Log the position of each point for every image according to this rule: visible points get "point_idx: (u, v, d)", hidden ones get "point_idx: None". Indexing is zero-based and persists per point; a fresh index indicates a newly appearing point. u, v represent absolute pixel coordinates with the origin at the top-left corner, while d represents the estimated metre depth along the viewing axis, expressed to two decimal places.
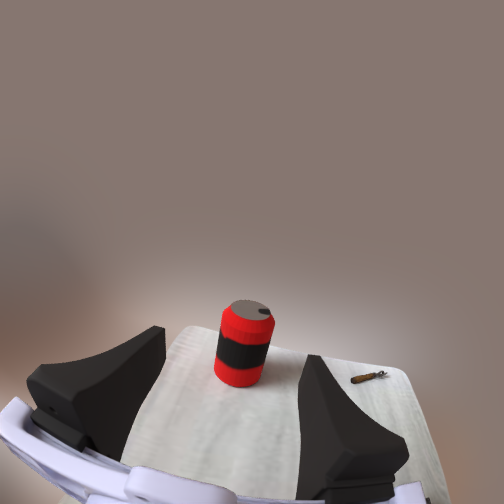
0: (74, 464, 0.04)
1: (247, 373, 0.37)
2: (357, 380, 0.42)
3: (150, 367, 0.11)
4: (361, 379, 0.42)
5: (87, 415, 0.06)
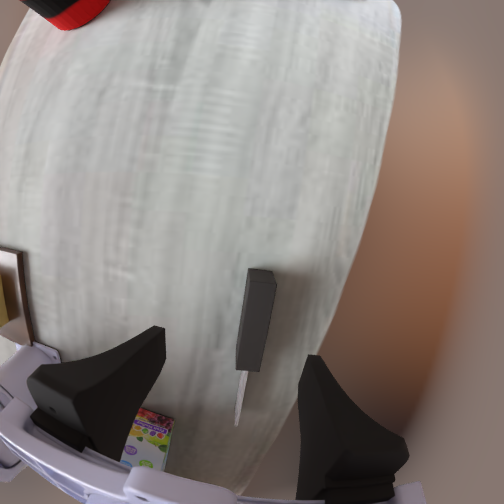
0: (74, 464, 0.04)
1: (69, 13, 0.13)
2: None
3: (150, 367, 0.11)
4: None
5: (87, 415, 0.06)
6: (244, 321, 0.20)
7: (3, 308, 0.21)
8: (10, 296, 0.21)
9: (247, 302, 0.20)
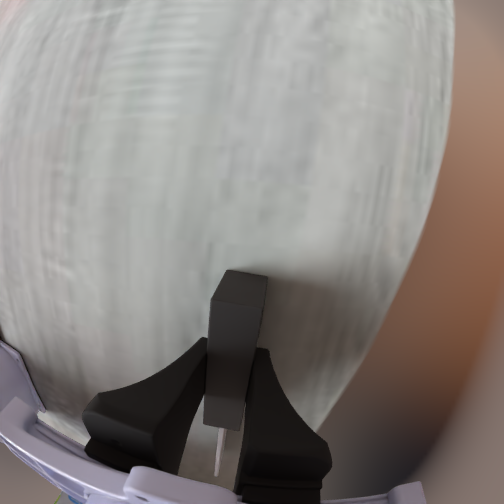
0: (74, 464, 0.04)
1: None
2: None
3: (202, 381, 0.11)
4: None
5: (161, 444, 0.06)
6: (207, 364, 0.11)
7: None
8: None
9: (209, 335, 0.11)
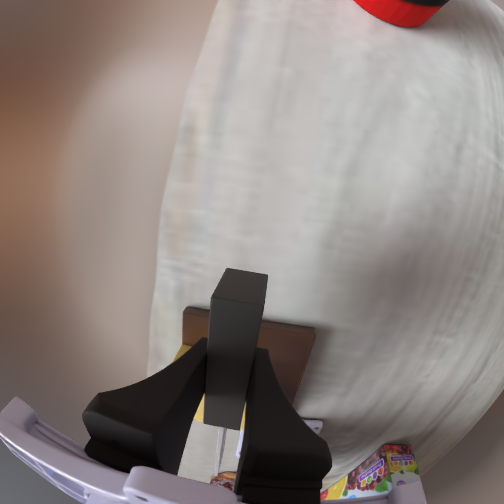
0: (74, 464, 0.04)
1: (420, 11, 0.10)
2: None
3: (202, 381, 0.11)
4: None
5: (161, 444, 0.06)
6: (208, 363, 0.11)
7: None
8: None
9: (210, 333, 0.11)
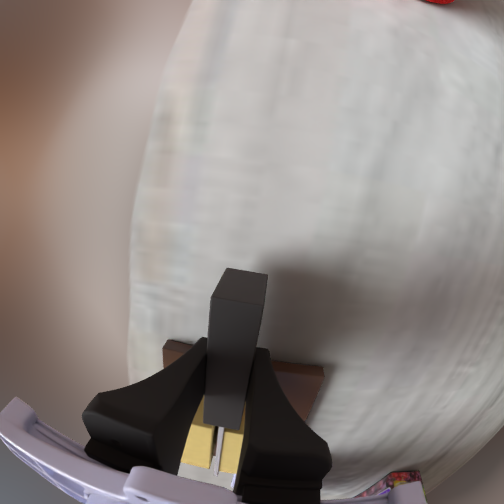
0: (74, 464, 0.04)
1: None
2: None
3: (202, 381, 0.11)
4: None
5: (161, 444, 0.06)
6: (207, 362, 0.11)
7: None
8: None
9: (210, 333, 0.11)
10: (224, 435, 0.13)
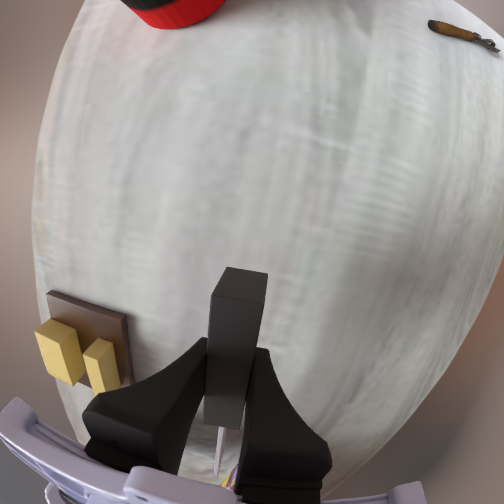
0: (74, 464, 0.04)
1: (177, 7, 0.12)
2: (441, 30, 0.12)
3: (202, 381, 0.11)
4: (449, 32, 0.12)
5: (161, 444, 0.06)
6: (207, 361, 0.11)
7: (116, 374, 0.23)
8: None
9: (210, 332, 0.11)
10: (83, 357, 0.20)
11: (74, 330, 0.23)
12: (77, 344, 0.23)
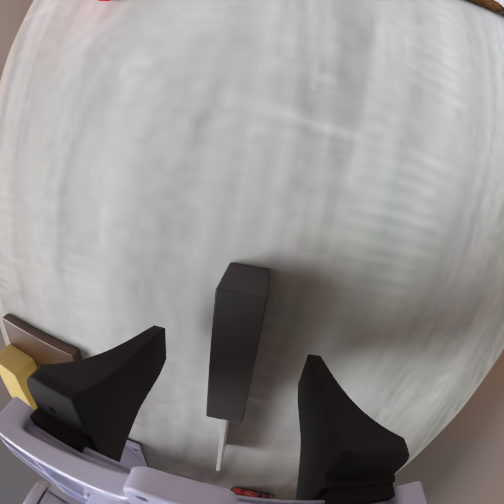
0: (74, 464, 0.04)
1: None
2: None
3: (150, 367, 0.11)
4: None
5: (87, 415, 0.06)
6: (212, 354, 0.12)
7: None
8: None
9: (214, 325, 0.11)
10: None
11: (31, 359, 0.17)
12: None
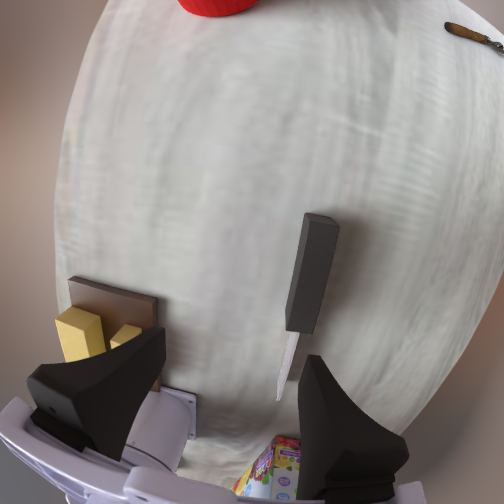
0: (74, 464, 0.04)
1: None
2: (456, 31, 0.12)
3: (150, 367, 0.11)
4: (463, 34, 0.12)
5: (87, 415, 0.06)
6: (300, 270, 0.18)
7: None
8: None
9: (305, 247, 0.17)
10: (111, 344, 0.20)
11: (98, 317, 0.23)
12: (100, 332, 0.24)
